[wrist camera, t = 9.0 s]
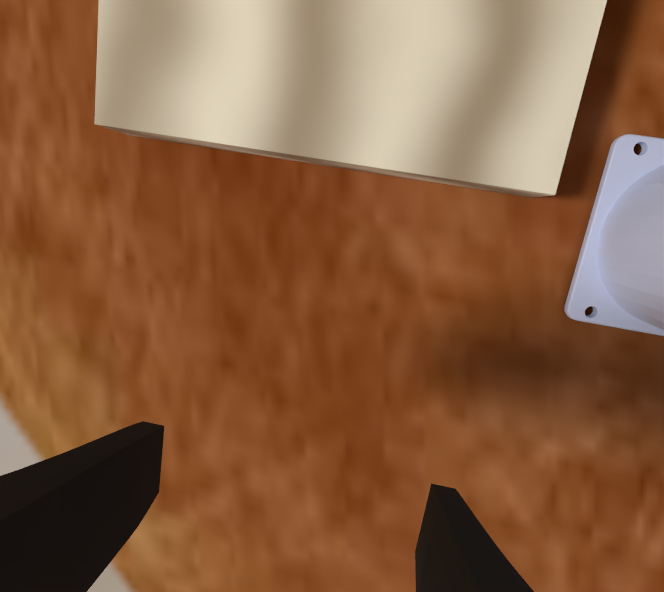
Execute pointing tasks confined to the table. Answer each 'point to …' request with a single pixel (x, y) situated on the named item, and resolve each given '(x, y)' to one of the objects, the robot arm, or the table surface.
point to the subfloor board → (356, 82)
